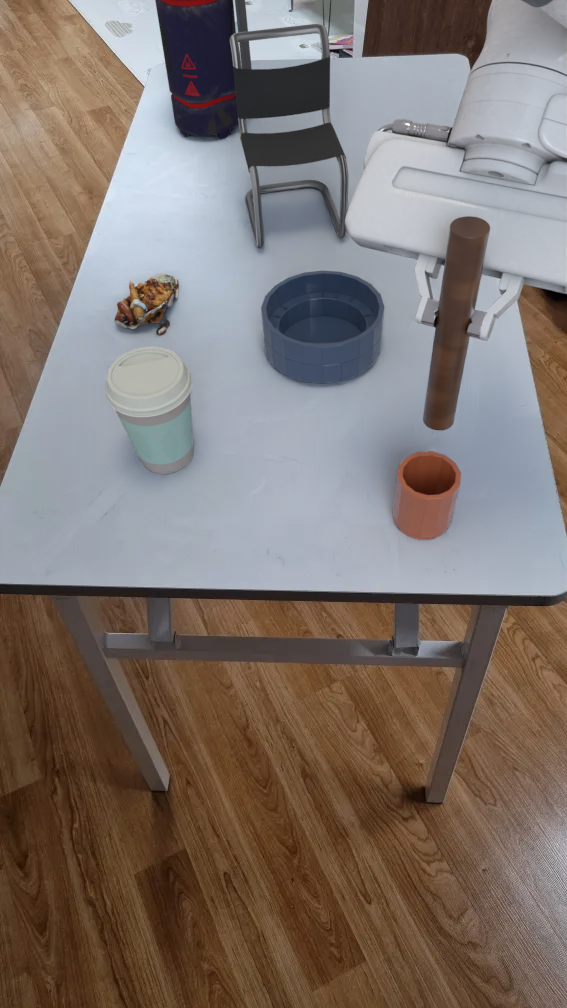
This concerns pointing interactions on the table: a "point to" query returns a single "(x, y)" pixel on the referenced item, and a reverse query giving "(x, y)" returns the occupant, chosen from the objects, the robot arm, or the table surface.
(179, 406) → the coffee cup
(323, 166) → the table surface
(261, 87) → the chair
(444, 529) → the crock
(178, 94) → the navy blue cylinder
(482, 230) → the brown wooden rod
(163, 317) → the loaded food tray
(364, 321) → the bowl
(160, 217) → the table surface
